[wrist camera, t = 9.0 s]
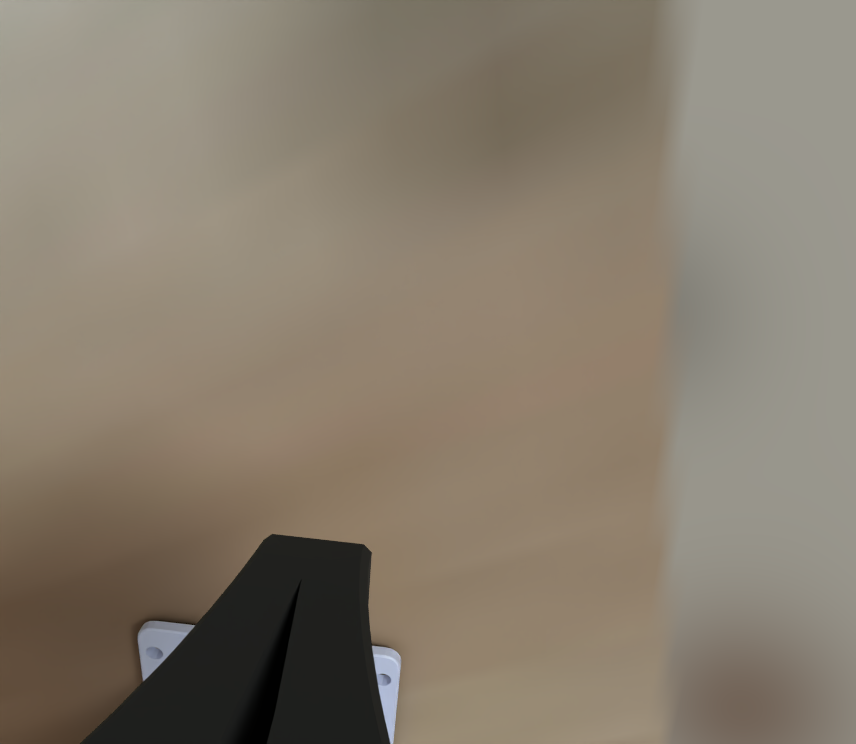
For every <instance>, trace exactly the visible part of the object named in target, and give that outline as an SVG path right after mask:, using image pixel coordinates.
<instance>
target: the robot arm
mask: <svg viewBox="0 0 856 744" xmlns="http://www.w3.org/2000/svg"><path fill="white" fill-rule="evenodd" d="M371 554H372V552H371V551H370V550H369V549H368V548H367V547H366V546H365V545H364V544H355V543H347V542H338V541H329V540H320V539H311V538H302V537H294V536H285V535H276V534H272V535H270V536H269V537H267V538H266V539H264V540H263V542H262V543H261V544H260V546H259V547H258V549H257V550H256V552H255V553H254V554H253V556H252V557H251V558H250V560H249V561H248V562H247V564H246V565H245V566H244V568H243V569H242V570H241V571H240V573H239V574H238V575H237V577H236V578H235V579H234V580H233V582H232V583H231V584H230V585H229V587H228V588H227V589H226V590H225V591H224V593H223V594H222V595H221V596H220V597H219V599H218V600H217V601H216V602H215V604H214V605H213V606H212V607H211V608H210V610H209V611H208V612H207V613H206V614H205V615H204V616H203V617H202V619H201V620H200V621H199V622H198V623H197V624H196V625H189V624H180V623H171V622H163V621H149V622H146V623H144V625H143V626H142V627H141V629H140V631H139V633H138V638H137V639H138V647H139V655H140V662H141V670H142V678H143V683H142V684H141V685H140V686H139V687H138V688H137V689H136V690H135V691H134V692H133V693H132V694H131V695H130V696H129V697H128V698H127V699H126V700H125V701H124V702H123V703H122V704H121V705H120V706H119V707H118V708H117V709H116V710H115V711H114V712H113V713H112V714H111V715H110V716H109V717H108V718H107V719H106V720H105V721H103V722H102V723H101V724H100V725H99V726H98V727H97V728H96V729H95V730H94V731H93V732H92V733H91V734H90V735H89V736H88V737H86V738H85V739H84V740H83V741H82V742H81V743H80V744H393V740H394V730H395V720H396V709H397V699H398V689H399V679H400V668H401V657H400V655H399V654H398V653H397V652H396V651H394V650H393V649H391V648H387V647H379V646H372V643H371V634H370V624H369V610H368V600H369V585H370V569H371ZM155 647H156V648H155ZM158 648H159V649H158ZM381 674H386V675H381Z"/></svg>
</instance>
